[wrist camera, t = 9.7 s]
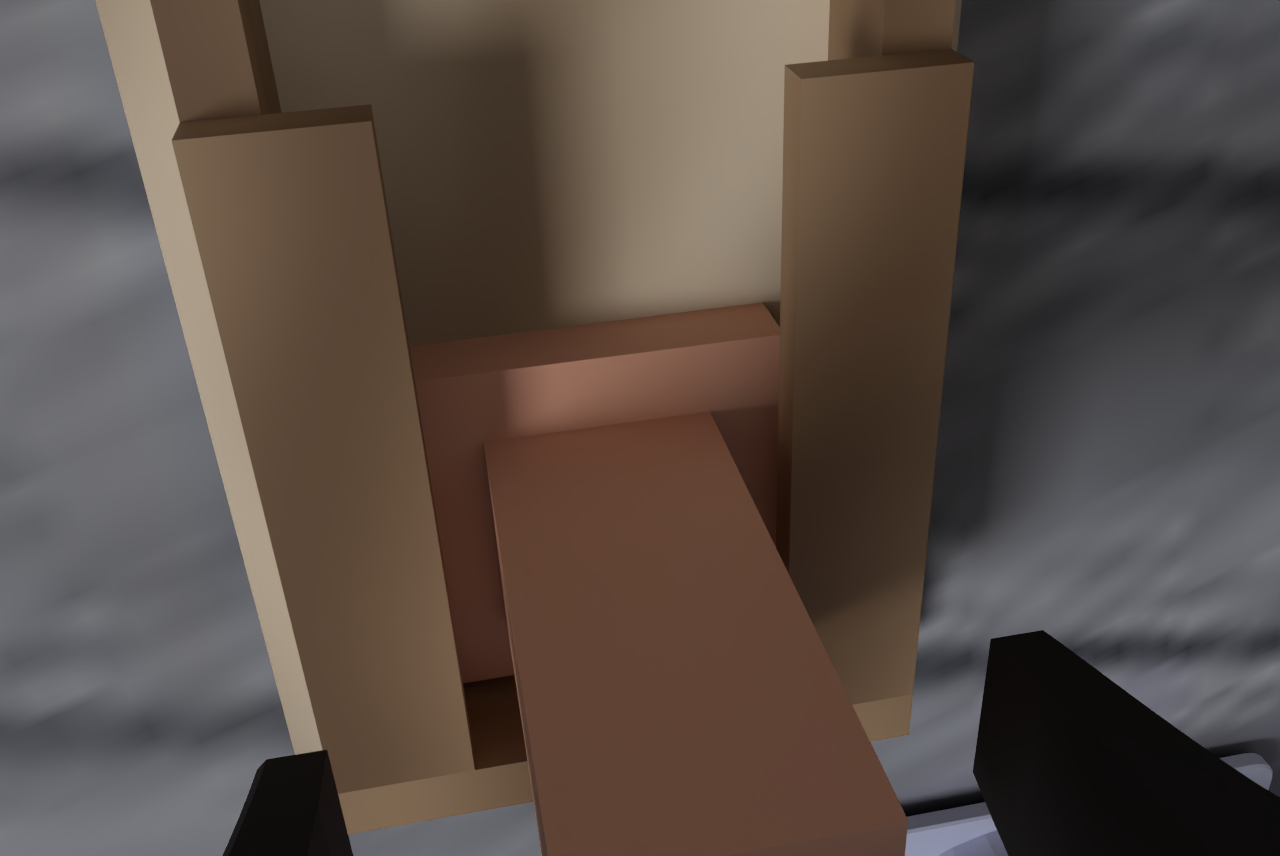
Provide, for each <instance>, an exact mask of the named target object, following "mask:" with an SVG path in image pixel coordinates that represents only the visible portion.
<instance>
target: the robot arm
mask: <svg viewBox="0 0 1280 856" xmlns="http://www.w3.org/2000/svg"><path fill="white" fill-rule="evenodd" d="M973 773H974V776H975V778H976V780H977V783H978V785H979V788H980V790H981V793H982V795H983V798H984V800H985V802H982V803H977V804H972V805H966V806H961V807H956V808H950V809H945V810H940V811H934V812H929V813H924V814H919V815H913V816H908V817H907V819H908V829H907V838H906V848H905V856H1280V798H1279V797H1278V796H1276V795H1274V794H1273V793H1271V792H1270V791H1268V790H1269V787H1270V783H1271V780H1272V776H1273V770H1272V769H1271V767H1270V766H1269V765H1268V764H1267V762H1266V761H1265V760H1264V759H1263V758H1262V757H1261V755H1258V754H1256V753H1243V754H1238V755H1233V756H1227V757H1222V758H1218V757H1217V756H1215V755H1214V754H1212V753H1211V752H1210V751H1208V750H1207V749H1205V748H1204V747H1202V746H1201V745H1199V744H1198V743H1197V742H1195V741H1194V740H1192V739H1191V738H1190V737H1188V736H1187V735H1185V734H1184V733H1182V732H1181V731H1180V730H1178V729H1177V728H1175V727H1174V726H1173V725H1171V724H1170V723H1168V722H1167V721H1166V720H1164V719H1163V718H1162V717H1160V716H1159V715H1157V714H1156V713H1155V712H1153V711H1152V710H1150V709H1149V708H1148V707H1146V706H1145V705H1144V704H1142V703H1141V702H1140V701H1138V700H1137V699H1136V698H1134V697H1133V696H1131V695H1130V694H1129V693H1127V692H1126V691H1125V690H1123V689H1122V688H1121V687H1119V686H1118V685H1117V684H1115V683H1114V682H1113V681H1111V680H1110V679H1109V678H1107V677H1106V676H1104V675H1103V674H1102V673H1100V672H1099V671H1098V670H1096V669H1095V668H1094V667H1092V666H1091V665H1090V664H1088V663H1087V662H1086V661H1084V660H1083V659H1082V658H1080V657H1079V656H1078V655H1076V654H1075V653H1074V652H1072V651H1071V650H1070V649H1068V648H1067V647H1065V646H1064V645H1063V644H1061V643H1060V642H1059V641H1057V640H1056V639H1054V638H1053V637H1052V636H1050V635H1049V634H1047V633H1046V632H1044V631H1043V630H1042V631H1036V632H1030V633H1024V634H1018V635H1012V636H1006V637H1000V638H994V639H991V642H990V650H989V657H988V664H987V672H986V679H985V686H984V694H983V701H982V709H981V716H980V723H979V731H978V738H977V746H976V753H975V760H974V768H973ZM223 856H353V853H352V849H351V845H350V841H349V837H348V833H347V829H346V825H345V821H344V816H343V812H342V808H341V804H340V800H339V796H338V792H337V788H336V784H335V780H334V776H333V771H332V767H331V763H330V759H329V755H328V751H327V750H321V751H315V752H309V753H303V754H297V755H291V756H285V757H279V758H273V759H267V760H266V761H265V762H264V763H263V764H262V765H261V766H260V767H259V768H258V769H257V772H256V775H255V777H254V780H253V783H252V786H251V789H250V791H249V794H248V796H247V799H246V801H245V804H244V807H243V809H242V812H241V814H240V817H239V819H238V821H237V824H236V826H235V829H234V831H233V833H232V836H231V838H230V840H229V843H228V845H227V847H226V849H225V852H224V854H223Z"/></svg>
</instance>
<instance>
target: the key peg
mask: <svg viewBox="0 0 1280 856" xmlns="http://www.w3.org/2000/svg"><path fill="white" fill-rule="evenodd" d="M410 352H411V359H412V365H413V371H414V378H415V384H416V390H417V397H418V403H419V409H420V415H421V422H422V428H423V434H424V441H425V447H426V453H427V460H428V466H429V472H430V479H431V485H432V491H433V497H434V504H435V510H436V516H437V523H438V529H439V535H440V542H441V548H442V554H443V560H444V567H445V573H446V579H447V586H448V592H449V598H450V605H451V611H452V617H453V623H454V630H455V636H456V642H457V649H458V655H459V661H460V668H461V674H462V680H463V683H469V682H475V681H481V680H487V679H493V678H499V677H506V676H512V675H515V681H516V687H517V694H518V701H519V707H520V714H521V721H522V727H523V734H524V740H525V747H526V754H527V760H528V767H529V773H530V780H531V787H532V793H533V800H534V807H535V813H536V820H537V826H538V833H539V840H540V846H541V853H542V856H905V848H906V838H907V829H908V819H907V817H906V815H905V813H904V811H903V809H902V807H901V805H900V802H899V800H898V798H897V796H896V794H895V792H894V790H893V788H892V786H891V784H890V782H889V780H888V778H887V776H886V774H885V772H884V769H883V767H882V765H881V763H880V761H879V759H878V757H877V755H876V753H875V751H874V749H873V747H872V745H871V743H870V741H869V739H868V736H867V734H866V732H865V730H864V728H863V726H862V724H861V722H860V720H859V718H858V716H857V714H856V712H855V710H854V708H853V706H852V703H851V701H850V699H849V697H848V695H847V693H846V691H845V689H844V687H843V685H842V683H841V681H840V679H839V677H838V675H837V673H836V671H835V668H834V666H833V664H832V662H831V660H830V658H829V656H828V654H827V652H826V650H825V648H824V646H823V644H822V642H821V640H820V638H819V635H818V633H817V631H816V629H815V627H814V625H813V623H812V621H811V619H810V617H809V615H808V613H807V611H806V609H805V607H804V605H803V602H802V600H801V598H800V596H799V594H798V592H797V590H796V588H795V586H794V584H793V582H792V580H791V578H790V576H789V574H788V572H787V569H786V567H785V565H784V563H783V561H782V559H781V557H780V555H779V553H778V551H777V549H776V522H777V466H778V410H779V354H780V327H779V326H778V324H777V323H776V321H775V320H774V318H773V317H772V315H771V314H770V312H769V311H768V309H767V308H766V306H765V305H764V303H763V302H762V303H754V304H746V305H738V306H730V307H722V308H714V309H706V310H698V311H690V312H682V313H674V314H665V315H657V316H649V317H641V318H633V319H625V320H617V321H609V322H601V323H593V324H585V325H577V326H569V327H561V328H553V329H545V330H537V331H528V332H520V333H512V334H504V335H496V336H488V337H480V338H472V339H464V340H456V341H448V342H440V343H432V344H424V345H416V346H410Z"/></svg>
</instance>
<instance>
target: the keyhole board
mask: <svg viewBox="0 0 1280 856" xmlns="http://www.w3.org/2000/svg"><path fill="white" fill-rule="evenodd" d="M95 1H96V4H97V8H98V12H99V16H100V19H101V23H102V27H103V31H104V35H105V38H106V42H107V46H108V50H109V53H110V57H111V61H112V65H113V69H114V72H115V76H116V80H117V84H118V87H119V91H120V95H121V99H122V103H123V106H124V110H125V114H126V118H127V121H128V125H129V129H130V133H131V137H132V140H133V144H134V148H135V152H136V155H137V159H138V163H139V167H140V171H141V174H142V178H143V182H144V186H145V189H146V193H147V197H148V201H149V204H150V208H151V212H152V216H153V220H154V223H155V227H156V231H157V235H158V238H159V242H160V246H161V250H162V254H163V257H164V261H165V265H166V269H167V272H168V276H169V280H170V284H171V288H172V291H173V295H174V299H175V303H176V306H177V310H178V314H179V318H180V322H181V325H182V329H183V333H184V337H185V340H186V344H187V348H188V352H189V356H190V359H191V363H192V367H193V371H194V374H195V378H196V382H197V386H198V390H199V393H200V397H201V401H202V405H203V408H204V412H205V416H206V420H207V424H208V427H209V431H210V435H211V439H212V442H213V446H214V450H215V454H216V458H217V461H218V465H219V469H220V473H221V476H222V480H223V484H224V488H225V492H226V495H227V499H228V503H229V507H230V510H231V514H232V518H233V522H234V526H235V529H236V533H237V537H238V541H239V544H240V548H241V552H242V556H243V559H244V563H245V567H246V571H247V575H248V578H249V582H250V586H251V590H252V593H253V597H254V601H255V605H256V609H257V612H258V616H259V620H260V624H261V627H262V631H263V635H264V639H265V643H266V646H267V650H268V654H269V658H270V661H271V665H272V669H273V673H274V677H275V680H276V684H277V688H278V692H279V695H280V699H281V703H282V707H283V711H284V714H285V718H286V722H287V726H288V729H289V733H290V737H291V741H292V745H293V748H294V752H295V755H297V754H303V753H309V752H315V751H321V750H327V751H328V755H329V759H330V763H331V767H332V771H333V776H334V780H335V784H336V788H337V792H338V796H339V800H340V804H341V808H342V812H343V816H344V821H345V825H346V829H347V833H348V834H354V833H359V832H365V831H371V830H376V829H382V828H387V827H393V826H399V825H404V824H410V823H415V822H421V821H427V820H432V819H438V818H444V817H449V816H455V815H460V814H466V813H472V812H477V811H483V810H488V809H494V808H500V807H505V806H511V805H517V804H522V803H528V802H533V801H534V800H533V793H532V787H531V780H530V773H529V767H528V760H527V754H526V747H525V740H524V734H523V727H522V721H521V714H520V707H519V701H518V694H517V687H516V681H515V675H512V676H506V677H499V678H493V679H487V680H481V681H475V682H469V683H463V680H462V674H461V668H460V661H459V655H458V649H457V642H456V636H455V630H454V623H453V617H452V611H451V605H450V598H449V592H448V586H447V579H446V573H445V567H444V560H443V554H442V548H441V542H440V535H439V529H438V523H437V516H436V510H435V504H434V497H433V491H432V485H431V479H430V472H429V466H428V460H427V453H426V447H425V441H424V434H423V428H422V422H421V415H420V409H419V403H418V397H417V390H416V384H415V378H414V371H413V365H412V359H411V352H410V346H416V345H424V344H432V343H440V342H448V341H456V340H464V339H472V338H480V337H488V336H496V335H504V334H512V333H520V332H528V331H537V330H545V329H553V328H561V327H569V326H577V325H585V324H593V323H601V322H609V321H617V320H625V319H633V318H641V317H649V316H657V315H665V314H674V313H682V312H690V311H698V310H706V309H714V308H722V307H730V306H738V305H746V304H754V303H762V302H763V303H764V305H765V306H766V308H767V309H768V311H769V312H770V314H771V315H772V317H773V318H774V320H775V321H776V323H777V324H778V326H779V327H780V354H779V410H778V466H777V522H776V549H777V551H778V553H779V555H780V557H781V559H782V561H783V563H784V565H785V567H786V569H787V572H788V574H789V576H790V578H791V580H792V582H793V584H794V586H795V588H796V590H797V592H798V594H799V596H800V598H801V600H802V602H803V605H804V607H805V609H806V611H807V613H808V615H809V617H810V619H811V621H812V623H813V625H814V627H815V629H816V631H817V633H818V635H819V638H820V640H821V642H822V644H823V646H824V648H825V650H826V652H827V654H828V656H829V658H830V660H831V662H832V664H833V666H834V668H835V671H836V673H837V675H838V677H839V679H840V681H841V683H842V685H843V687H844V689H845V691H846V693H847V695H848V697H849V699H850V701H851V703H852V706H853V708H854V710H855V712H856V714H857V716H858V718H859V720H860V722H861V724H862V726H863V728H864V730H865V732H866V734H867V736H868V739H869V741H876V740H882V739H887V738H893V737H898V736H904V735H909V728H910V718H911V708H912V697H913V687H914V677H915V667H916V656H917V646H918V636H919V626H920V615H921V605H922V595H923V585H924V574H925V564H926V554H927V544H928V533H929V523H930V513H931V503H932V492H933V482H934V472H935V462H936V451H937V441H938V431H939V421H940V411H941V400H942V390H943V380H944V370H945V359H946V349H947V339H948V329H949V318H950V308H951V298H952V288H953V277H954V267H955V257H956V247H957V236H958V226H959V216H960V206H961V195H962V185H963V175H964V165H965V154H966V144H967V134H968V124H969V113H970V103H971V93H972V83H973V72H974V62H973V61H972V60H970V59H968V58H966V57H965V56H963V55H961V54H960V53H958V52H957V51H958V40H959V29H960V17H961V6H962V0H95Z"/></svg>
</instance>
